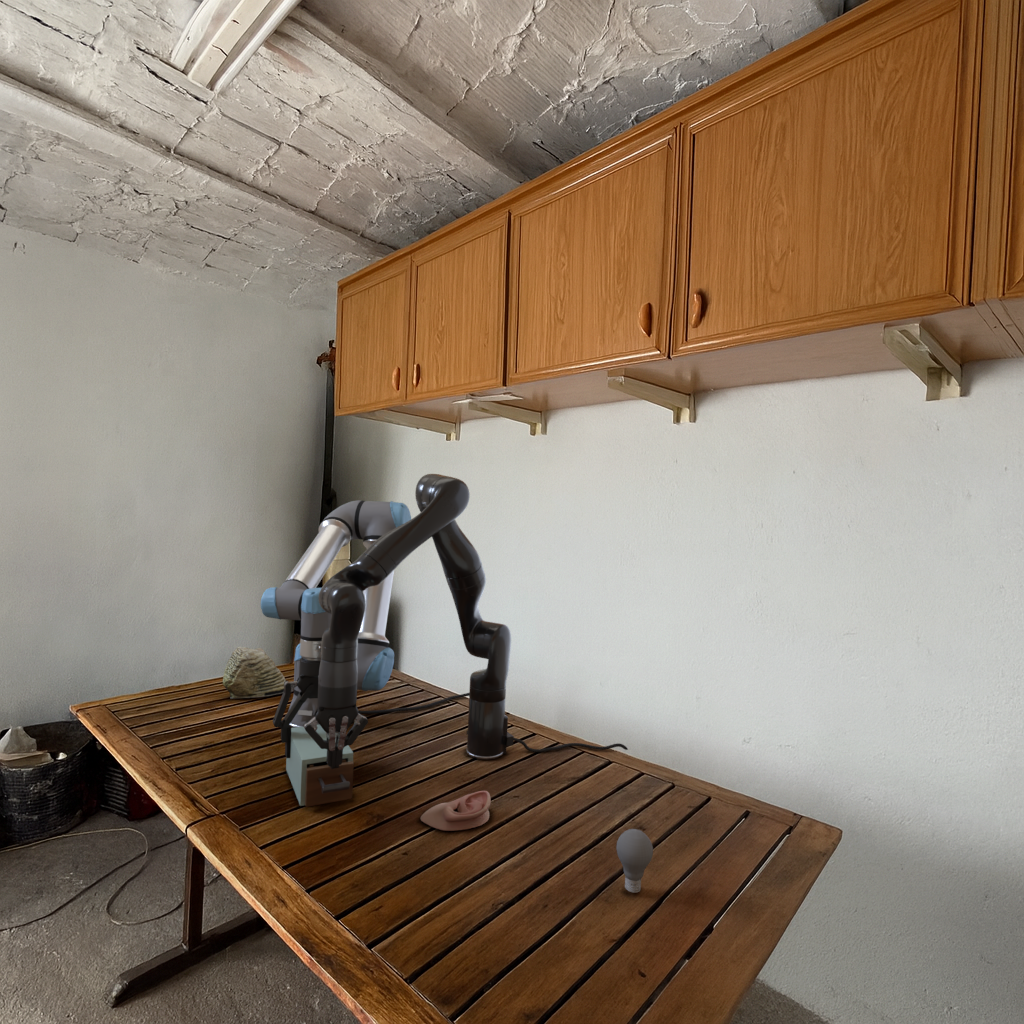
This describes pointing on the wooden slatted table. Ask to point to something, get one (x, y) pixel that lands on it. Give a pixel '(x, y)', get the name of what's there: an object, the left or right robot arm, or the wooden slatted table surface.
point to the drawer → (328, 783)
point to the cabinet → (306, 758)
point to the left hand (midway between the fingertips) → (313, 752)
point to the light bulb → (634, 857)
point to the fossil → (252, 674)
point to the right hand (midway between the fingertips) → (334, 766)
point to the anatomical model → (459, 812)
